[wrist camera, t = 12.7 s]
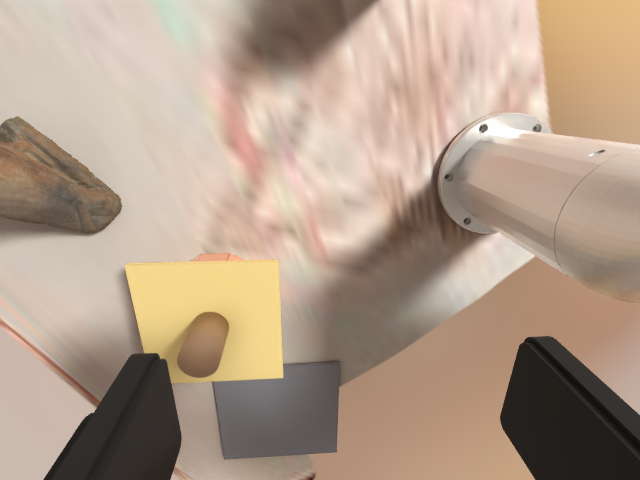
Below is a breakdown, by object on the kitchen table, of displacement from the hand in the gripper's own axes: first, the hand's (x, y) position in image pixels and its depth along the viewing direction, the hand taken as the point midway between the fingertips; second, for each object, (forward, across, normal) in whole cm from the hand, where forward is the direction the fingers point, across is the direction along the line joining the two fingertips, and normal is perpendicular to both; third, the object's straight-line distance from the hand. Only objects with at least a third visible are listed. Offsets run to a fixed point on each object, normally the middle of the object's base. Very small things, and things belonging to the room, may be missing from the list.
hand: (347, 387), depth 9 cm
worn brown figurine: (+29, +24, 0) cm, 37 cm away
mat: (+28, +4, +32) cm, 43 cm away
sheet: (+23, +10, +14) cm, 29 cm away
